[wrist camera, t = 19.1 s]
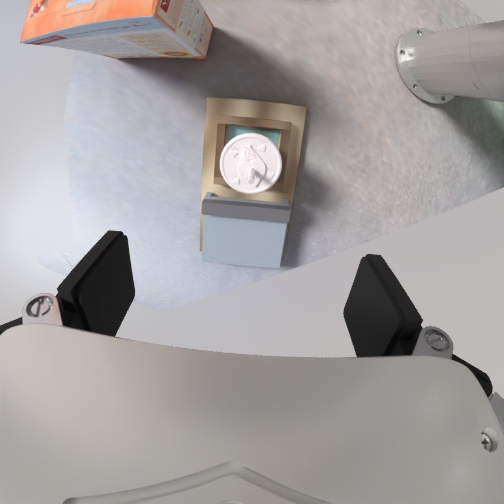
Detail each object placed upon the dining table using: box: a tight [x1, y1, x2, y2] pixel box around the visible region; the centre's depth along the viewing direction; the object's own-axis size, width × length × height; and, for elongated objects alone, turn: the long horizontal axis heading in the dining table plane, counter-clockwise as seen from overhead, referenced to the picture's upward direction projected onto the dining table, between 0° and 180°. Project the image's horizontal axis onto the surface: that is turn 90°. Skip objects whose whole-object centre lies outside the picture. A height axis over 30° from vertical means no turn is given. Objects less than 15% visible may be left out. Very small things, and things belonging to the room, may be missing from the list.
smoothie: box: [220, 133, 282, 194], centre depth 30 cm, size 6×6×14 cm
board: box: [200, 97, 306, 259], centre depth 38 cm, size 13×23×3 cm, turn 174°
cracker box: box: [19, 0, 213, 60], centre depth 20 cm, size 14×6×21 cm, turn 79°
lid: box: [201, 192, 291, 269], centre depth 39 cm, size 11×10×4 cm
